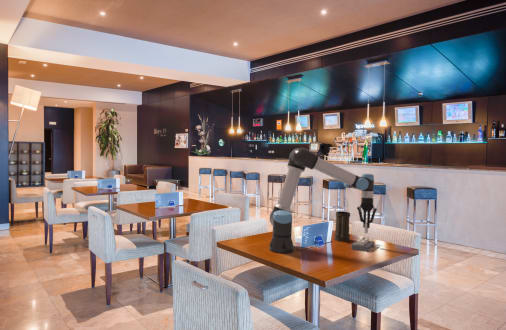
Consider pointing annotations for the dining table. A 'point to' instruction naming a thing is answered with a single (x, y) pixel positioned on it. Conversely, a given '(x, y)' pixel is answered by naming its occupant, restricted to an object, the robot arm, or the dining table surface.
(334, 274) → the dining table surface
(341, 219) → the beer stein
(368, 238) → the tile
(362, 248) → the grey dice tray
